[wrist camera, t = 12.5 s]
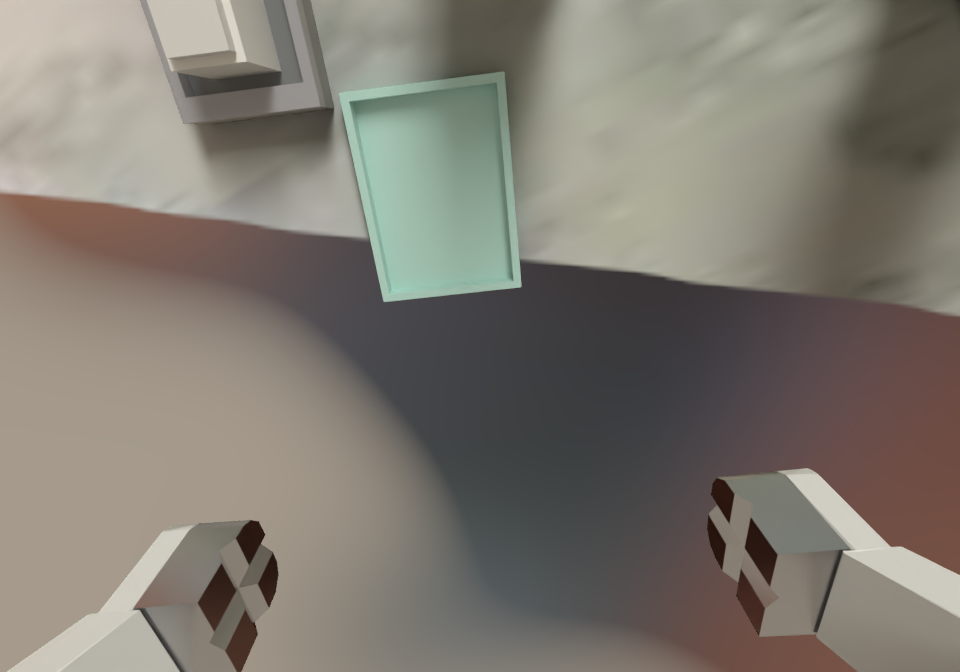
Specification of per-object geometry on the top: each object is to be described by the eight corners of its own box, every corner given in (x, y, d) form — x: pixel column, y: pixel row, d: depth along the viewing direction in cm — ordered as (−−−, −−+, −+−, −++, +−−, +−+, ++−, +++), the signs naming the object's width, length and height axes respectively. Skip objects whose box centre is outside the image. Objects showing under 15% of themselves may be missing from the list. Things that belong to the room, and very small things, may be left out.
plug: (253, -40, 28) (200, -79, 23) (281, 71, 30) (240, 59, 25) (182, -30, 28) (114, -67, 23) (216, 79, 31) (162, 69, 25)
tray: (503, 73, 32) (504, 71, 31) (519, 281, 39) (521, 287, 37) (344, 94, 33) (338, 92, 31) (386, 296, 39) (383, 302, 38)
